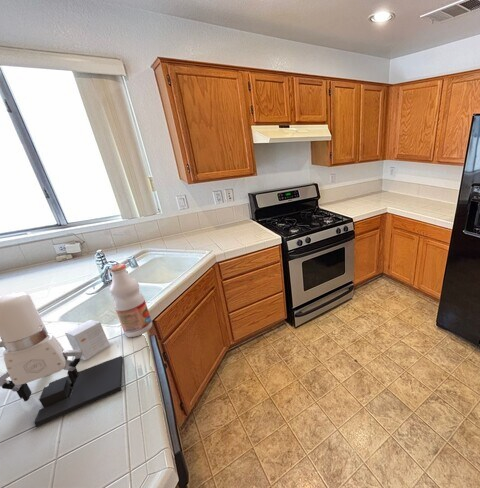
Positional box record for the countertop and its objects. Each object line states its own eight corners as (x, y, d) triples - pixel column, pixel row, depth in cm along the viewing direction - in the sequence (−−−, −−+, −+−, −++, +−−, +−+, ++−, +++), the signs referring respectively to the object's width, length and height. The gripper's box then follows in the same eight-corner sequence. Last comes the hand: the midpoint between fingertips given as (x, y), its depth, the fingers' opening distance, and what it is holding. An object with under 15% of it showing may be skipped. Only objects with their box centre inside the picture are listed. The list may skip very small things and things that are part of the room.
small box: (101, 342, 99) (91, 318, 95) (110, 345, 97) (100, 321, 93) (75, 357, 92) (64, 332, 88) (85, 361, 90) (73, 335, 86)
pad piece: (44, 410, 72) (38, 399, 71) (49, 397, 76) (43, 387, 75) (68, 400, 75) (63, 389, 74) (72, 388, 79) (66, 378, 78)
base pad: (36, 427, 68) (33, 423, 67) (51, 386, 80) (49, 382, 80) (121, 390, 77) (119, 386, 77) (123, 358, 90) (121, 355, 89)
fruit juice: (122, 331, 105) (98, 267, 95) (148, 320, 111) (128, 259, 102) (129, 341, 99) (103, 274, 89) (156, 328, 105) (135, 264, 96)
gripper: (-31, 362, 61) (2, 415, 67) (68, 332, 70) (90, 381, 76) (-17, 345, 67) (13, 395, 73) (73, 319, 76) (93, 365, 82)
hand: (52, 388), depth 74 cm, fingers open, 9 cm apart
